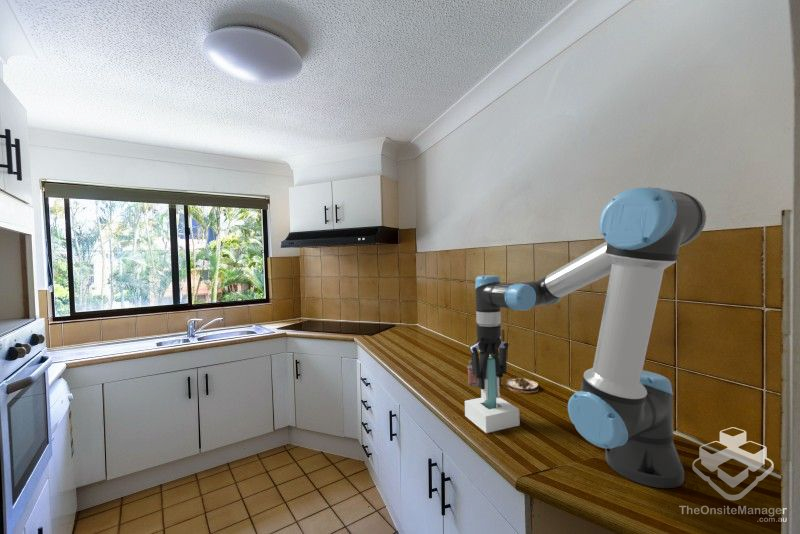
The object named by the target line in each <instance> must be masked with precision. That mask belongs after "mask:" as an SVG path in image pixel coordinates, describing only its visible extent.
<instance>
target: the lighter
mask: <svg viewBox="0 0 800 534" xmlns="http://www.w3.org/2000/svg"><path fill="white" fill-rule="evenodd" d="M479 362H480V360H479ZM468 364H469V365H467V368H466V369H467V381H468V382H467V386H470V387H479V378H477V377H475V376H473V370H472V360H469V361H468Z"/></svg>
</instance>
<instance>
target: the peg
mask: <svg viewBox="0 0 800 534" xmlns="http://www.w3.org/2000/svg"><path fill="white" fill-rule="evenodd" d="M485 378H486V379H488V400H485V407H486V408H488V409H493V408H496V370H495V358H492V357H491V356H489V358H488V361H487V369H486V377H485Z"/></svg>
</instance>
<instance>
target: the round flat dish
mask: <svg viewBox="0 0 800 534" xmlns="http://www.w3.org/2000/svg"><path fill="white" fill-rule="evenodd" d="M505 384H506V389H508V391H509V392H512V393H518V394H525V395H526V394H529V395H530V394H535V393H538V392H539V391H540V384H539V383H538V382H537V381H535V380H531V379H527V378H524V377H523V378H522V377H516V378H508V379H506V381H505Z"/></svg>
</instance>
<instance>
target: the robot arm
mask: <svg viewBox="0 0 800 534" xmlns="http://www.w3.org/2000/svg"><path fill="white" fill-rule="evenodd" d="M706 221H707V213H706V210H705V207H704V206H703V204H702V203H701V202H700V201H699V200H698V199H697V198H696V197H695V196H693V195H691V194H689V193H686V192H683V191H676V190H675V191H674V190H668V189H663V188H659V187H651V186H650V187H636V188H635V187H634V188H629V189H626V190H623V191H622V192H620V193H619V194H617V195H615V196H614V197H613V198H611V199H610V200H609V201H608V203H607V204H606V205H605V206H604V208H603V210H602V212H601V213H600V216H599V222H598V225H599V232H600V234H601V235H602V236H603V238H604V240H605V242H603V243H601V244H599V245H597V246H596V247H594V248H592V249H590V250H588V251H587V252H585V253H583V254H581V255H580V256H578V257H576V258H575V259H573V260H571V261H569V262H568V263H566V264H565V265H563V266H561V267H559V268H558V269H556V270H554V271H552V272H551V273H549V274H547V275H546V276H544V277H542V278H540V279H538V280H535V281H525V282H523V281H522V282H501V279H500V276H498V275H487V274H486V275H478V276H477V277H476V278H475V282H474V283H475V284H474V285H475V288H474V291H475V293H474V294H475V314H476V317H475V319H476V324H477V325H476V337H477V338H476V339H477V340H476V343H475V344H474V345H469V347H468V349H469V351H470V356H471V361H472V364H471V365H472V370H473V376H475V377H477V378H479V386H478V387H479V389H480V398H483V399H485V400H488V379H486V378H485V377H486V369H487V361H488V358H489V357H492V358H495V370H496V397H497V398H501V397H500V395H501V394H500V387H502V386H501V385H502V378H503V377H504V375H505V374H507V367H508V366H507V364H508V348H509V345H510V344H509V343H508V342H505V341H502V338H501V337H502V325H501V323H502V320H501V319H502V315H501V309H502V308H503V309H507V310H513V311H517V312H518V311H522V312H523V311H524V312H525V311H529V310H531V309H532V308H533V307H540V306H550V305H553V304H556V303H559V302H560V301H561V299H562V298H563V297H565V296H567V295H569V294H571V293H574V292H576V291H577V290H580V289H581V288H584V287H585V286H588V285H590V284H591V283H594V282H596V281H598V280H601V279H602V278H605V277H607V276H608V275H609V279H608V284H607V291H606V296H605V300H604V306H603V312H602V317H601V320H600V321H601V323H600V328H599V333H598V337H597V338H598V339H597V344H596V350H595V353H594V360H593V364H592V365H593V366H592V367H591V368H589V369H587V370H585V371H584V372H583V374H582V375H583V377H582V381H581V388H580V390H579V391H576V392H575V393H573V395H571V396H570V398H569V400H568V402H567V412H568V416H569V419H570V421H571V423H572V424H573V425H574V427H575V428H574V429H576V431H577V432H578V433H579V434H580V436H582V437H583V438H584V439H585V440H586V441H587V442H589V443H590V444H592V445H594V446H596V447H599V448H602V449H605V451H604V452H605V461H606V463H607V465H608V466H609V467H610V468H611V469H612V470H613V471H615V472H616V473H617V474H618V475H620V476H622V477H623V478H626V479H628V480H630V481H632V482H635V483H638V484H640V485H643V486H648V487H651V488H652V487H653V488H657V489H658V488H659V489H673V488H674V489H675V488H677V487H680V486H682V485H683V483H684V481H685V470H684V466H683V464H682V461H681V460H680V456H679V454H678V451H677V449H676V447H675V443H674V415H673V409H674V405H673V402H674V401H673V395H674V392H673V388H672V382H671V381H670V379H669V378H668V377H666V376H664V375H662V374H659V373H656V372H651V371H648V370H644V365H645V360H646V354H647V351H648V346H649V341H650V336H651V332H652V327H653V322H654V318H655V315H656V314H655V313H656V308H657V304H658V299H659V294H660V289H661V285H662V281H663V276H664V270H666V269H667V268H668V267H670V266H672V265H673V264H676V262H677V260H678V255H679V252H680V248H681V247H683V246H685V245H688V244H689V243H691V242H692V241H694V240H696V238H697V237H699V236H700V234H701V233H702V232H703V230H704V228H705V225H706ZM479 361H480V362H479Z"/></svg>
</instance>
